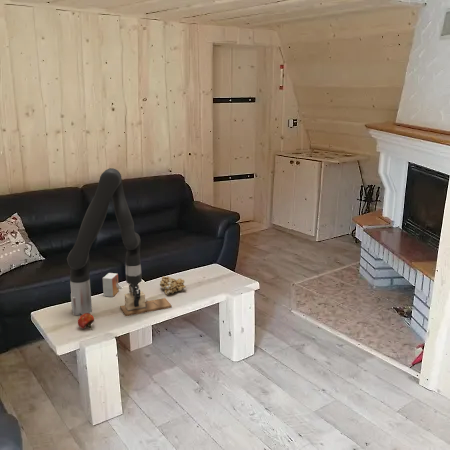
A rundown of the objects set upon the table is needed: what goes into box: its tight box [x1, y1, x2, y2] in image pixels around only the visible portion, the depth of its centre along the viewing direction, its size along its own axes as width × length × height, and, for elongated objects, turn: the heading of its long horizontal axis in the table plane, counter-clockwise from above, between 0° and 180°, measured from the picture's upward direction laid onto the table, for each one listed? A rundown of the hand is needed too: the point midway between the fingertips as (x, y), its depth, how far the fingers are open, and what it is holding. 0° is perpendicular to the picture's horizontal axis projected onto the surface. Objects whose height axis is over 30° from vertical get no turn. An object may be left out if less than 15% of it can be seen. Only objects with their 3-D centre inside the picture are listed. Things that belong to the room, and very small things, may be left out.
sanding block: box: [124, 290, 146, 311], centre depth 243 cm, size 9×5×7 cm, turn 115°
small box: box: [102, 272, 120, 298], centre depth 262 cm, size 8×6×10 cm
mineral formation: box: [159, 275, 187, 296], centre depth 268 cm, size 8×13×15 cm
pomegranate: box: [77, 313, 95, 330], centre depth 225 cm, size 7×7×10 cm
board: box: [119, 297, 172, 317], centre depth 246 cm, size 24×10×1 cm, turn 115°
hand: (135, 304), depth 243 cm, fingers closed on sanding block, 5 cm apart
